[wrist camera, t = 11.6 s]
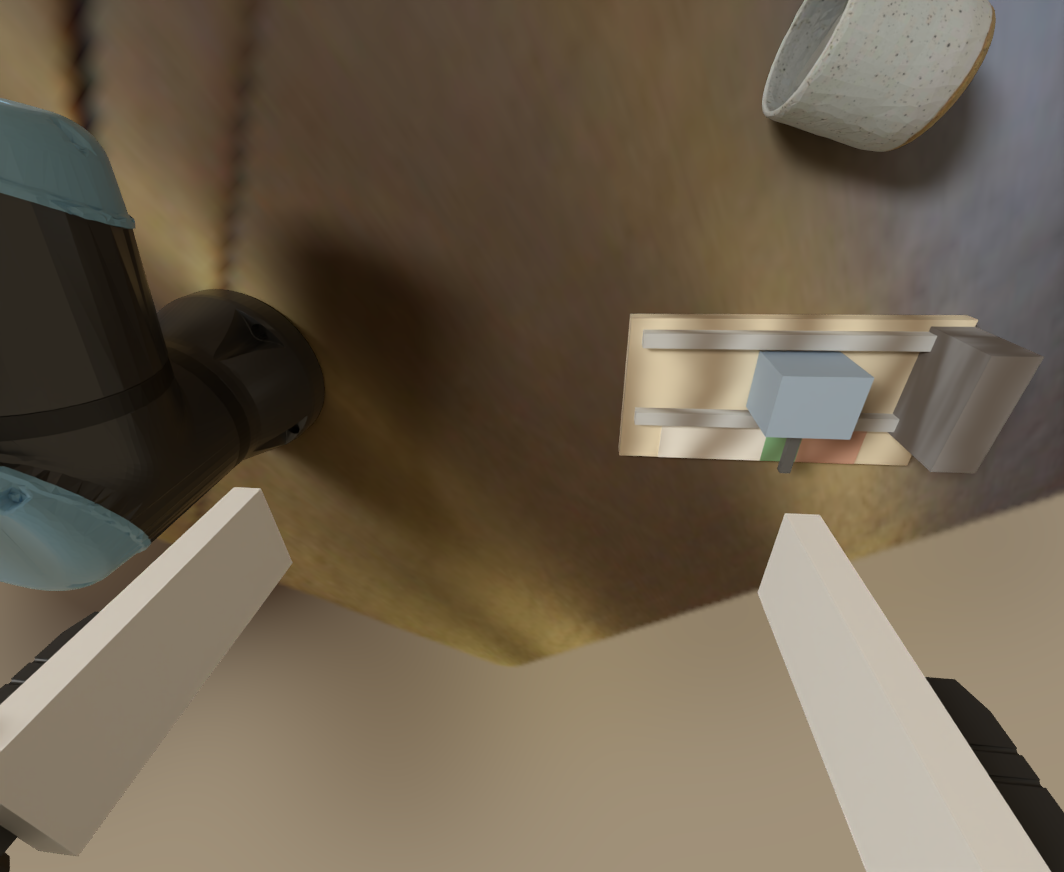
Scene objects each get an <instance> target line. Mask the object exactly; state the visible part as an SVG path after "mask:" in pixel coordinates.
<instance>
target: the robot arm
mask: <svg viewBox="0 0 1064 872" xmlns="http://www.w3.org/2000/svg"><path fill="white" fill-rule="evenodd" d="M133 228H135V221H134V219H133V218H132V217H131V216H130V215H129V214H128V213H127V210H126V207H125V204H124V201H123V198H122V195H121V193H120V190H119V187H118V184H117V181H116V178H115V176H114V173H113V170H112V167H111V164H110V161H109V159H108V157H107V155H106V153H105V151H104V149H103V148H102V146H101V145H100V144H99V142H98V141H97V140H96V139H95V138H94V137H93V136H92V135H91V134H90V133H89V132H88V131H86V130H85V129H84V128H83V127H81V126H80V125H78V124H77V123H75V122H73V121H71V120H70V119H68V118H66V117H64V116H61V115H59V114H56V113H53V112H50V111H47V110H44V109H40V108H37V107H33V106H29V105H26V104H22V103H18V102H14V101H11V100H7V99H3V98H0V581H1V582H5V583H9V584H12V585H17V586H22V587H26V588H32V589H38V590H48V591H49V590H50V591H65V590H74V589H79V588H83V587H86V586H90V585H92V584H94V583H96V582H98V581H101V580H102V579H104V578H105V577H107V576H108V575H109V574H110V573H112V572H113V571H114V570H116V569H117V568H118V567H119V566H121V565H122V564H123V563H125V562H126V561H127V560H128V559H130V558H131V557H132V556H133V555H135V554H136V553H140V552H141V551H144V550H146V549H147V548H148V546H149V545H150V544H151V543H152V542H153V541H154V540H155V539H156V538H157V537H158V536H159V535H161V534H162V533H163V532H164V531H165V530H166V529H167V528H168V527H169V526H170V525H171V524H173V523H174V522H175V521H176V520H177V519H178V518H179V517H180V516H181V515H182V514H184V513H185V512H186V511H187V510H188V509H189V508H190V507H191V506H192V505H193V504H195V503H196V502H197V501H198V500H199V499H200V498H201V497H202V496H203V495H204V494H206V493H207V492H208V491H209V490H210V489H211V488H212V487H213V486H214V485H215V484H217V483H218V482H219V481H220V480H221V479H222V478H223V477H224V476H225V475H226V474H228V473H229V472H230V471H231V470H232V469H233V468H234V467H235V466H236V465H238V464H239V463H240V462H241V461H242V460H245V459H247V458H250V457H253V456H255V455H258V454H261V453H264V452H266V451H269V450H272V449H274V448H277V447H280V446H283V445H285V444H287V443H289V442H291V441H293V440H294V439H296V438H297V437H299V436H300V435H301V434H302V433H303V432H304V431H305V430H306V429H307V428H308V427H309V426H310V425H311V424H312V423H313V422H314V421H315V420H316V418H317V417H318V415H319V413H320V411H321V409H322V405H323V401H324V381H323V376H322V372H321V369H320V366H319V363H318V361H317V359H316V356H315V354H314V353H313V351H312V349H311V347H310V346H309V344H308V343H307V341H306V340H305V339H304V337H303V336H302V335H301V334H300V332H299V331H298V330H297V329H296V328H295V327H294V326H293V325H292V324H291V323H290V322H289V321H288V320H287V319H286V318H285V317H283V316H282V315H281V314H280V313H278V312H277V311H276V310H274V309H273V308H271V307H270V306H268V305H266V304H265V303H263V302H261V301H259V300H257V299H255V298H253V297H250V296H248V295H245V294H242V293H238V292H235V291H229V290H222V289H210V290H203V291H199V292H196V293H193V294H190V295H187V296H184V297H181V298H178V299H176V300H174V301H172V302H171V303H169V304H167V305H166V306H164V307H163V308H162V309H161V310H160V311H159V312H158V313H156V309H155V306H154V302H153V299H152V295H151V292H150V289H149V285H148V282H147V278H146V275H145V271H144V268H143V264H142V261H141V257H140V254H139V251H138V247H137V244H136V240H135V236H134V232H133ZM291 564H292V561H291V558H290V556H289V554H288V551H287V549H286V546H285V544H284V542H283V539H282V537H281V535H280V532H279V530H278V528H277V525H276V523H275V521H274V518H273V516H272V514H271V511H270V509H269V506H268V504H267V502H266V499H265V497H264V495H263V492H262V490H261V489H259V488H238V487H234V488H233V489H232V490H231V491H229V492H228V493H227V494H226V495H225V496H224V497H223V498H222V499H221V500H220V501H219V502H218V503H217V504H215V505H214V506H213V507H212V508H211V509H210V510H209V511H208V512H207V513H206V514H205V515H204V516H203V517H202V518H200V519H199V520H198V521H197V522H196V523H195V524H194V525H193V526H192V527H191V528H190V529H189V530H188V531H186V532H185V533H184V534H183V535H182V536H181V537H180V538H179V539H178V540H177V541H176V542H175V543H174V544H173V545H171V546H170V547H169V548H168V549H167V550H166V551H165V552H164V553H163V554H162V555H161V556H160V557H159V558H157V559H156V560H155V561H154V562H153V563H152V564H151V565H150V566H149V567H148V568H147V569H146V570H145V571H143V572H142V574H140V575H139V576H138V577H137V578H136V579H135V580H134V581H133V582H132V583H131V584H130V585H128V586H127V587H126V588H125V589H124V590H123V591H122V592H121V593H120V594H119V595H118V596H117V597H116V598H114V599H113V600H112V601H111V602H110V603H109V604H108V605H107V606H106V607H105V608H104V609H103V610H102V611H101V612H94V613H92V614H90V615H89V616H87V617H86V618H84V619H83V620H81V621H80V622H78V623H76V624H75V625H73V626H72V627H70V628H69V629H67V630H66V631H64V632H63V633H61V634H60V635H59V636H58V637H57V638H56V639H55V640H54V641H52V642H51V644H49V645H48V646H47V647H46V648H45V649H44V650H42V652H40V653H39V654H38V655H37V656H36V657H35V660H34V662H32V663H28V664H27V665H26V666H25V667H24V668H23V669H22V670H20V671H19V672H18V673H17V674H16V675H15V676H14V677H13V678H12V681H11V682H10V683H9V684H5V685H4V686H3V687H2V688H0V872H9V870H10V857H9V855H7V854H6V853H5V851H6V850H7V849H8V847H9V846H10V845H11V844H12V843H13V841H14V840H15V839H16V838H17V837H18V838H19V839H21V840H22V841H24V842H26V843H27V844H29V845H30V846H32V847H33V848H35V849H36V850H38V851H43V852H51V853H57V854H64V855H72V856H79V854H80V853H81V852H82V850H83V849H84V848H85V846H86V845H87V843H88V842H89V841H90V839H91V838H92V837H93V835H94V834H95V832H96V831H97V830H98V828H99V827H100V825H101V824H102V823H103V821H104V820H105V819H106V817H107V816H108V815H109V813H110V812H111V810H112V809H113V808H114V806H115V805H116V804H117V802H118V801H119V800H120V798H121V797H122V795H123V794H124V793H125V791H126V790H127V788H128V787H129V786H130V785H131V783H132V782H133V780H134V779H135V778H136V776H137V775H138V774H139V772H140V771H141V769H142V768H143V767H144V765H145V764H146V763H147V761H148V760H149V758H150V757H151V756H152V754H153V753H154V752H155V750H156V749H157V748H158V746H159V745H160V743H161V742H162V740H163V739H164V738H165V737H166V735H167V734H168V732H169V731H170V730H171V728H172V727H173V725H174V724H175V723H176V722H177V720H178V719H179V717H180V716H181V715H182V713H183V712H184V711H185V709H186V708H187V706H188V705H189V704H190V702H191V701H192V699H193V698H194V697H195V695H196V694H197V693H198V691H199V690H200V689H201V687H202V686H203V684H204V683H205V682H206V680H207V679H208V678H209V676H210V675H211V674H212V672H213V671H214V669H215V668H216V667H217V665H218V664H219V663H220V661H221V660H222V659H223V657H224V656H225V654H226V653H227V652H228V650H229V649H230V647H231V646H232V645H233V643H234V642H235V641H236V639H237V638H238V637H239V635H240V634H241V632H242V631H243V630H244V628H245V627H246V626H247V624H248V623H249V622H250V620H251V619H252V617H253V616H254V615H255V613H256V612H257V611H258V609H259V608H260V606H261V605H262V604H263V602H264V601H265V600H266V598H267V597H268V596H269V594H270V593H271V591H272V590H273V589H274V587H275V586H276V585H277V583H278V582H279V580H280V579H281V578H282V576H283V575H284V574H285V572H286V571H287V569H288V568H289V567H290V565H291ZM758 595H759V597H760V600H761V603H762V605H763V608H764V611H765V613H766V616H767V618H768V621H769V623H770V626H771V629H772V631H773V634H774V636H775V639H776V641H777V644H778V646H779V649H780V651H781V654H782V657H783V659H784V662H785V664H786V667H787V670H788V672H789V675H790V677H791V680H792V682H793V685H794V687H795V690H796V693H797V695H798V698H799V700H800V703H801V705H802V708H803V711H804V713H805V716H806V718H807V721H808V723H809V726H810V728H811V731H812V733H813V736H814V739H815V741H816V744H817V747H818V749H819V752H820V754H821V757H822V759H823V762H824V764H825V767H826V770H827V772H828V775H829V777H830V780H831V782H832V785H833V787H834V790H835V793H836V795H837V798H838V800H839V803H840V806H841V808H842V810H843V813H844V816H845V818H846V821H847V823H848V826H849V829H850V831H851V834H852V836H853V839H854V842H855V844H856V846H857V849H858V852H859V854H860V857H861V860H862V862H863V865H864V867H865V870H866V872H1064V812H1063V811H1062V809H1061V808H1060V807H1059V806H1058V804H1057V803H1056V801H1055V800H1054V799H1053V797H1052V796H1051V794H1050V793H1049V792H1048V790H1047V789H1046V788H1043V787H1042V786H1041V785H1040V782H1039V780H1040V779H1039V778H1038V776H1037V775H1036V774H1035V772H1034V771H1033V770H1032V768H1031V767H1030V765H1029V764H1028V763H1027V761H1026V760H1025V759H1024V757H1023V756H1022V755H1019V754H1018V753H1017V750H1016V749H1017V748H1016V746H1015V745H1014V744H1013V742H1012V741H1011V739H1010V738H1009V737H1008V735H1007V734H1006V732H1005V731H1004V730H1003V728H1002V727H1001V725H1000V724H999V723H998V721H997V720H996V719H995V717H994V716H993V714H992V713H991V712H990V711H989V710H988V709H987V708H986V707H985V706H984V705H983V704H982V703H980V702H979V701H978V700H977V699H976V698H975V697H974V696H973V695H972V694H970V693H969V692H968V691H967V690H966V689H965V688H964V687H963V686H961V685H960V684H959V683H958V682H957V681H956V680H954V679H941V678H929V677H924V675H923V673H922V672H921V671H920V669H919V667H918V666H917V664H916V663H915V661H914V659H913V658H912V656H911V655H910V653H909V652H908V650H907V649H906V647H905V646H904V644H903V643H902V641H901V639H900V638H899V636H898V635H897V633H896V632H895V630H894V629H893V627H892V626H891V624H890V623H889V621H888V619H887V618H886V616H885V615H884V613H883V612H882V610H881V609H880V607H879V606H878V604H877V603H876V601H875V599H874V598H873V596H872V595H871V593H870V592H869V590H868V589H867V587H866V585H865V584H864V582H863V581H862V580H861V578H860V576H859V575H858V573H857V572H856V570H855V569H854V567H853V565H852V564H851V562H850V561H849V559H848V558H847V556H846V555H845V553H844V552H843V550H842V548H841V547H840V545H839V544H838V542H837V541H836V539H835V538H834V536H833V535H832V533H831V532H830V530H829V528H828V527H827V525H826V524H825V522H824V521H823V519H822V518H821V516H820V515H810V514H789V513H785V515H784V518H783V521H782V523H781V526H780V529H779V532H778V535H777V538H776V541H775V544H774V547H773V550H772V553H771V555H770V558H769V561H768V564H767V567H766V570H765V573H764V576H763V579H762V582H761V584H760V587H759V590H758Z"/></svg>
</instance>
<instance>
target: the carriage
mask: <svg viewBox="0 0 1064 872" xmlns="http://www.w3.org/2000/svg"><path fill="white" fill-rule="evenodd" d="M873 381H874V377H873V376H872V375H870V374H869V373H868V372H866V371H865V370H864V369H862V368H861V367H860V366H859V365H857V364H856V363H855V362H853V361H852V360H851V359H849V358H848V357H847V356H846V355H844V354H843V353H842V352H840V351H761V350H760V351H759V356H758V360H757V364H756V368H755V372H754V376H753V380H752V384H751V388H750V392H749V396H748V400H747V404H746V407H747V409H748V410H749V412H750V414H751V415H752V417H753V418H754V420H755V421H756V423H757V425H758V426H759V428H760V429H761V431H762V432H763V434H764V436H765V437H778V438H787V439H786V442H785V445H784V449H783V452H782V455H781V458H780V461H779V465H778V468H777V469H778V471H779V472H780V473H790V472H791V469H792V466H793V463H794V460H795V457H796V454H797V451H798V448H799V445H800V442H801V439H802V438H811V439H843V440H850V438H851V436H852V433H853V431H854V428H855V426H856V423H857V421H858V418H859V416H860V413H861V411H862V408H863V406H864V403H865V401H866V398H867V396H868V393H869V391H870V388H871V386H872V383H873Z"/></svg>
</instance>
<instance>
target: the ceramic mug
mask: <svg viewBox="0 0 1064 872" xmlns="http://www.w3.org/2000/svg"><path fill="white" fill-rule="evenodd" d="M995 21H996V18H995V10H994V8H993V7H992V5H991V4H990V3H989V1H988V0H804V2H803V4H802V5H801V7H800V9H799V10H798V12H797V14H796V16H795V18H794V20H793V22H792V24H791V26H790V28H789V30H788V32H787V34H786V36H785V37H784V39H783V41H782V43H781V46H780V48H779V50H778V53H777V55H776V57H775V60H774V62H773V64H772V66H771V71H770V73H769V75H768V78H767V81H766V86H765V89H764V94H763V99H762V109H763V113H764V114H765V116H766V117H767V118H769V119H771V120H774V121H777V122H780V123H783V124H787V125H790V126H793V127H796V128H798V129H801V130H804V131H807V132H810V133H812V134H815V135H819V136H822V137H826V138H829V139H832V140H835V141H837V142H840V143H843V144H846V145H848V146H851V147H854V148H857V149H862V150H869V151H876V152H885V151H890V150H894V149H897V148H900V147H902V146H904V145H906V144H908V143H910V142H912V141H913V140H915V139H916V138H917V137H919V136H920V135H922V134H923V133H924V132H926V131H927V130H928V129H929V128H931V127H932V126H933V125H934V124H935V123H936V122H937V121H938V120H939V119H940V118H941V117H942V116H943V115H944V114H945V113H946V112H947V111H948V110H949V109H950V108H951V107H952V106H953V105H954V103H955V102H956V101H957V100H958V98H959V97H960V96H961V94H962V93H963V92H964V91H965V89H966V88H967V86H968V85H969V84H970V82H971V81H972V79H973V78H974V76H975V74H976V73H977V71H978V69H979V68H980V66H981V64H982V62H983V60H984V58H985V56H986V54H987V52H988V49H989V46H990V44H991V41H992V38H993V34H994V29H995Z"/></svg>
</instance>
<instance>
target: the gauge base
mask: <svg viewBox="0 0 1064 872" xmlns="http://www.w3.org/2000/svg"><path fill="white" fill-rule="evenodd" d="M977 322H978V320H977V319H975V318H972V317H970V316H967V315H789V314H630V323H629V334H628V346H627V357H626V369H625V380H624V392H623V403H622V415H621V427H620V438H619V455H628V456H656V457H675V458H703V459H731V460H759V461H780V458H781V455H782V452H783V449H784V445H785V442H786V439H787V438H778V437H765V436H764V434H763V432H762V431H761V429H760V428H759V426H758V425H757V423H756V421H755V420H754V418H753V417H752V415H751V414H750V412H749V410H748V409H747V407H746V404H747V400H748V396H749V392H750V388H751V384H752V380H753V376H754V372H755V368H756V364H757V360H758V356H759V351H760V350H761V351H840V352H842V353H843V354H844V355H846V356H847V357H848V358H849V359H851V360H852V361H853V362H855V363H856V364H857V365H859V366H860V367H861V368H862V369H864V370H865V371H866V372H868V373H869V374H870V375H872V376H873V377H874V381H873V383H872V386H871V388H870V391H869V393H868V396H867V398H866V401H865V403H864V406H863V408H862V411H861V413H860V416H859V418H858V421H857V423H856V426H855V428H854V431H853V433H852V436H851V438H850V440H843V439H811V438H802V439H801V442H800V445H799V448H798V451H797V454H796V457H795V460H794V462H815V463H842V464H879V465H907V464H908V462H909V460H910V458H911V456H912V455H913V456H914V457H915V458H916V459H917V460H918V461H919V462H920V463H921V464H923V465H924V466H925V467H926V468H927V469H928V470H929V471H930V472H949V473H976V471H977V470H978V468H979V466H980V464H981V463H982V461H983V459H984V458H985V456H986V454H987V453H988V451H989V449H990V448H991V446H992V444H993V443H994V441H995V439H996V437H997V436H998V434H999V432H1000V431H1001V429H1002V427H1003V426H1004V424H1005V422H1006V421H1007V419H1008V417H1009V416H1010V414H1011V412H1012V411H1013V409H1014V407H1015V405H1016V404H1017V402H1018V400H1019V399H1020V397H1021V395H1022V394H1023V392H1024V390H1025V389H1026V387H1027V385H1028V384H1029V382H1030V380H1031V379H1032V377H1033V375H1034V373H1035V372H1036V370H1037V368H1038V367H1039V365H1040V363H1041V362H1042V360H1043V358H1044V357H1043V356H1041V355H1039V354H1036V353H1034V352H1032V351H1029V350H1027V349H1025V348H1023V347H1020V346H1018V345H1016V344H1013V343H1011V342H1009V341H1007V340H1004V339H1002V338H1000V337H997V336H995V335H993V334H991V333H988V332H986V331H984V330H981V329H979V328H977V327H975V326H976V324H977Z"/></svg>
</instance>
